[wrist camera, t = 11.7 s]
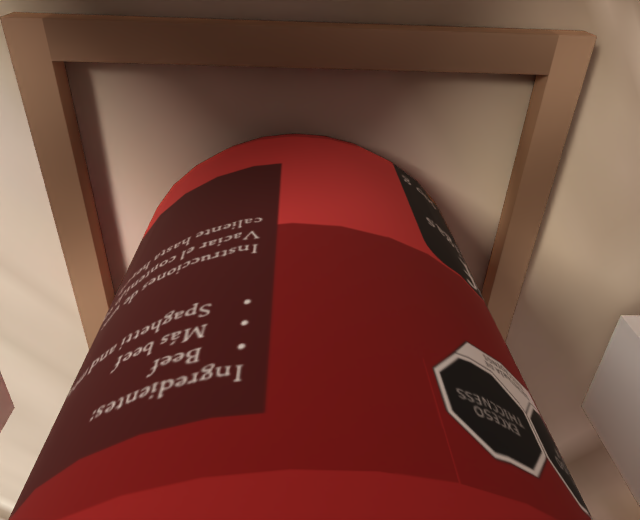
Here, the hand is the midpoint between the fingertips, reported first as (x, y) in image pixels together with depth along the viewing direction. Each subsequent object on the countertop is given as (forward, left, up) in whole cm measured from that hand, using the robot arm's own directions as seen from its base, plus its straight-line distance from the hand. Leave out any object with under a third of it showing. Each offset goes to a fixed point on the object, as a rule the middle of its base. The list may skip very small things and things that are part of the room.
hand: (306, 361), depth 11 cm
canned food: (0, 0, -4) cm, 4 cm away
